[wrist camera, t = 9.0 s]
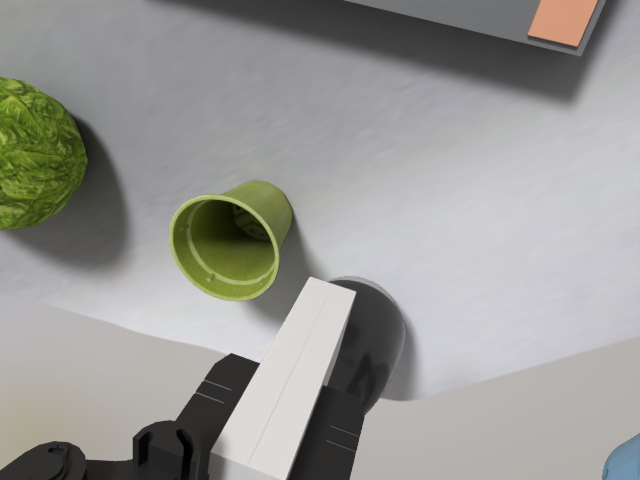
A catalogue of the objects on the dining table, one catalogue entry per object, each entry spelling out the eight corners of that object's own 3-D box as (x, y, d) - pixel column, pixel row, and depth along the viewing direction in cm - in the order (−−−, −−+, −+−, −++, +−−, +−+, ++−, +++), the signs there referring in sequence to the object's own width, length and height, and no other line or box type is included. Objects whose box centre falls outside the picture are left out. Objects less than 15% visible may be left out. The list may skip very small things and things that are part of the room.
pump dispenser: (353, 238, 43) (306, 340, 30) (432, 313, 45) (419, 442, 31) (286, 297, 48) (221, 406, 35) (358, 362, 50) (321, 492, 36)
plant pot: (223, 148, 43) (173, 179, 35) (320, 180, 42) (289, 219, 34) (211, 235, 47) (164, 278, 40) (298, 266, 46) (266, 317, 39)
